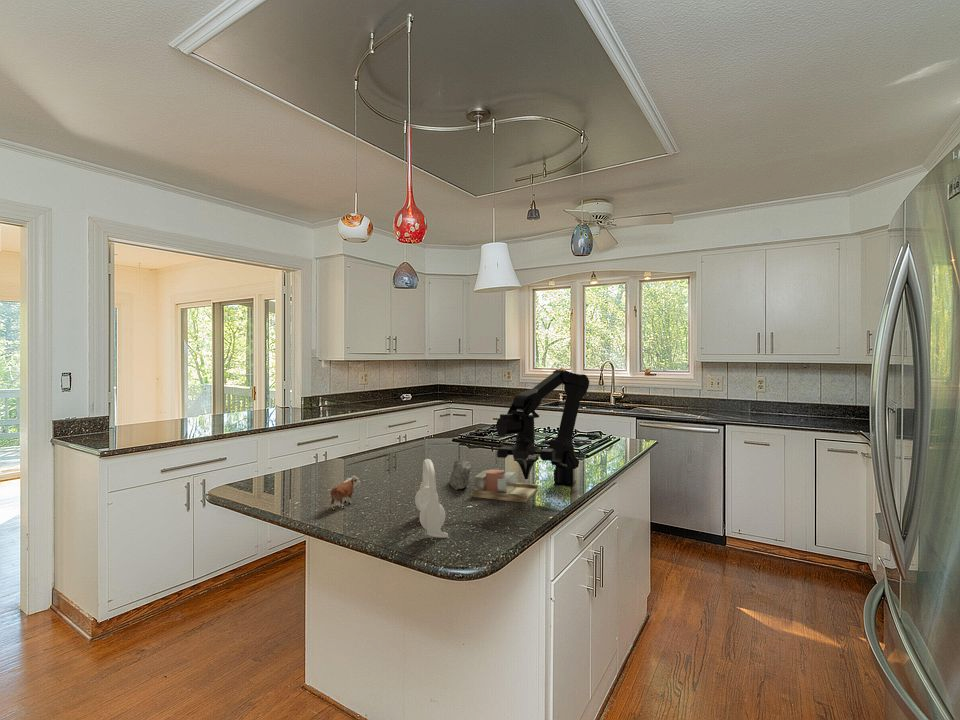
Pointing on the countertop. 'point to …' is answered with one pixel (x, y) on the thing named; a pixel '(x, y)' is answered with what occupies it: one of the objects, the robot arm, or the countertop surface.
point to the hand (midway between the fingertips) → (526, 479)
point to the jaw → (507, 482)
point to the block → (493, 479)
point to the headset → (430, 503)
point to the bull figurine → (344, 490)
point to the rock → (460, 474)
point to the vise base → (517, 494)
